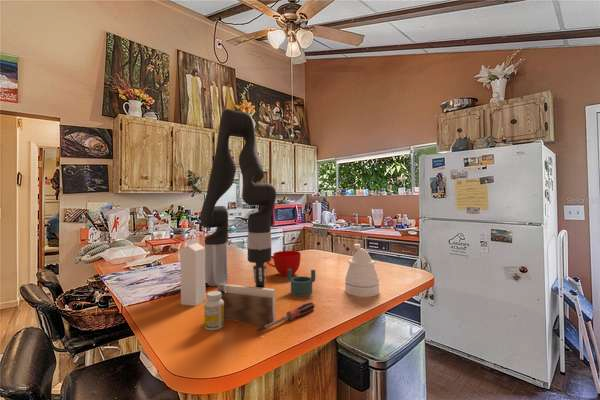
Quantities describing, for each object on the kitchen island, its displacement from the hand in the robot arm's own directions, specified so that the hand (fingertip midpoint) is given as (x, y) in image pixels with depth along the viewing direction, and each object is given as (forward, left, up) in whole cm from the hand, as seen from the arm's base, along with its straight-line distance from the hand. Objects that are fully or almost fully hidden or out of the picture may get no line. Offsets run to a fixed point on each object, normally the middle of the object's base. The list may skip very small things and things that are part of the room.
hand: (259, 300), depth 93 cm
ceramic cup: (-11, +45, -4) cm, 47 cm away
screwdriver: (+11, -3, -5) cm, 12 cm away
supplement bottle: (-8, -13, -4) cm, 16 cm away
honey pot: (+28, +31, -4) cm, 42 cm away
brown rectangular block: (-3, -5, -4) cm, 7 cm away
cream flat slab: (-3, -5, -4) cm, 6 cm away
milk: (-27, +1, -4) cm, 27 cm away
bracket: (+6, +23, -4) cm, 25 cm away
